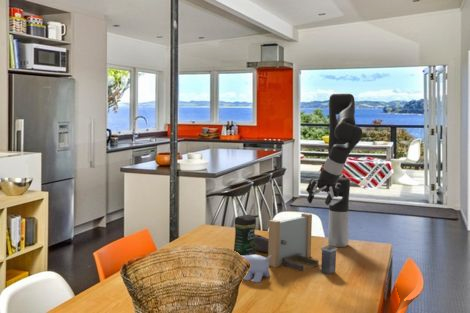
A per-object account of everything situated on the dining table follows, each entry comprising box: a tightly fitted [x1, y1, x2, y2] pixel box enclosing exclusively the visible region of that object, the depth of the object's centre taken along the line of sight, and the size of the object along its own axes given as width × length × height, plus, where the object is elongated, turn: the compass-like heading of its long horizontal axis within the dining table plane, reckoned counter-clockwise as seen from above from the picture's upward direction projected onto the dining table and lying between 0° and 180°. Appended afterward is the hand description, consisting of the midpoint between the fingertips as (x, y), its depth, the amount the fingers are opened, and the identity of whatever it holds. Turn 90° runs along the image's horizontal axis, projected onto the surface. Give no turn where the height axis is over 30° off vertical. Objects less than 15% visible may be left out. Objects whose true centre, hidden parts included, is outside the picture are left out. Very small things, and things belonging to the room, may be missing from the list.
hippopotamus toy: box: [242, 254, 271, 283], centre depth 179 cm, size 11×15×10 cm
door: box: [267, 212, 313, 268], centre depth 199 cm, size 24×5×19 cm, turn 133°
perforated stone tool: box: [255, 233, 269, 254], centre depth 213 cm, size 15×5×7 cm, turn 42°
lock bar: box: [320, 245, 338, 276], centre depth 185 cm, size 4×4×10 cm
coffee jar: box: [233, 214, 257, 256], centre depth 204 cm, size 10×8×19 cm
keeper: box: [282, 253, 319, 272], centre depth 194 cm, size 11×10×3 cm
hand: (317, 203), depth 191 cm, fingers open, 8 cm apart
